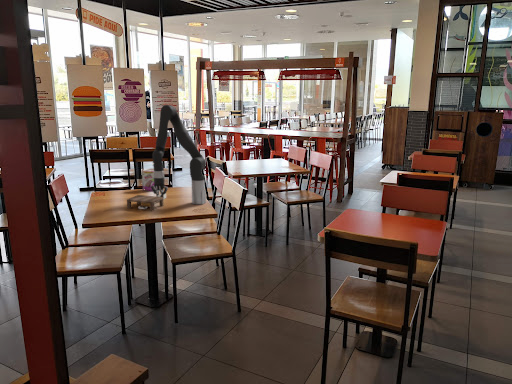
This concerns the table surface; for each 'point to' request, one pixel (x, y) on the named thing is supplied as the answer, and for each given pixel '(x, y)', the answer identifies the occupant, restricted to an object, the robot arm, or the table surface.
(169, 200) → the table surface
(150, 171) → the candy bar box
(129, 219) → the table surface
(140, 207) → the steel token
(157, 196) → the long white slat
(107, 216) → the table surface
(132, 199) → the low walnut stand
